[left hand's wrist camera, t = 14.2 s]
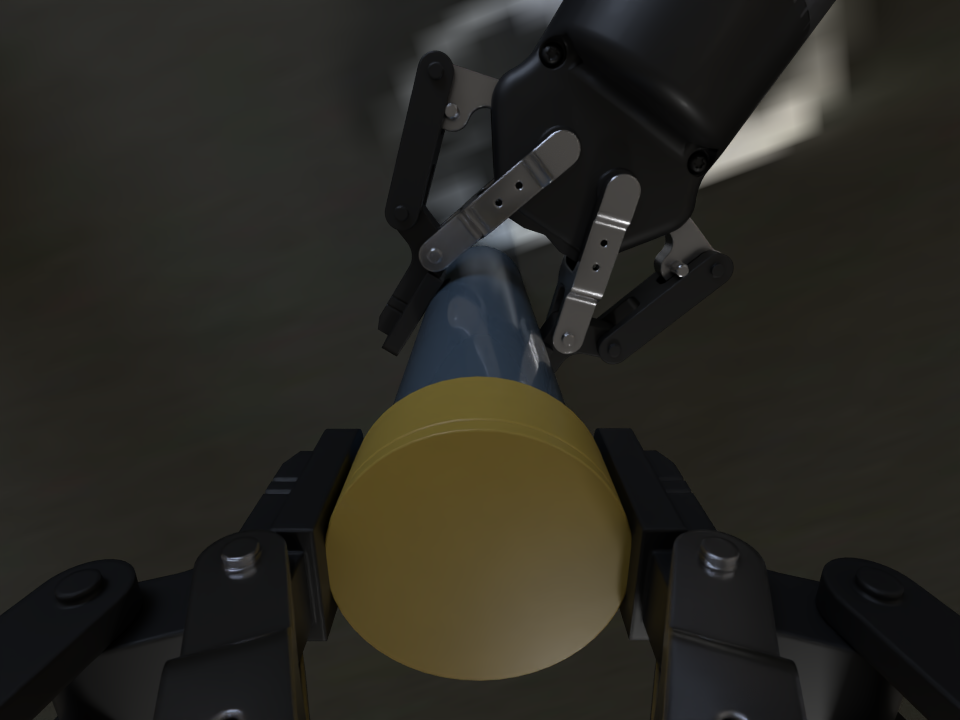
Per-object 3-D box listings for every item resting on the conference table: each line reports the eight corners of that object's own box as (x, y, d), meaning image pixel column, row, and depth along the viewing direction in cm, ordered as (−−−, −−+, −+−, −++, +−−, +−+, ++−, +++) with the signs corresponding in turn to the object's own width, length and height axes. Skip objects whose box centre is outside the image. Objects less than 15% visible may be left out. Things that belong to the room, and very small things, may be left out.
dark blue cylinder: (446, 337, 29) (387, 656, 11) (427, 254, 28) (320, 457, 9) (529, 322, 29) (618, 622, 10) (515, 237, 27) (589, 410, 9)
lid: (480, 629, 12) (480, 723, 10) (300, 493, 11) (260, 569, 9) (657, 490, 11) (697, 566, 9) (477, 320, 10) (476, 362, 8)
